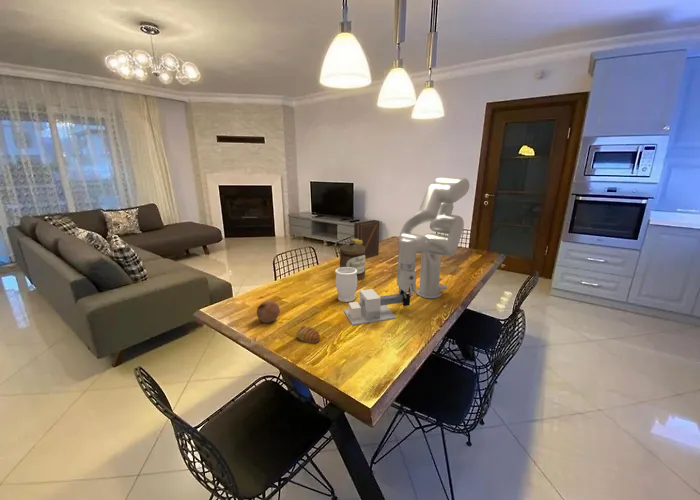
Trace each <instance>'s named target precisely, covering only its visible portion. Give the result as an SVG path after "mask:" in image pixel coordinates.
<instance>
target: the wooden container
mask: <svg viewBox="0 0 700 500" xmlns="http://www.w3.org/2000/svg"><path fill="white" fill-rule="evenodd" d="M342 267H352V268H355V269H357V274H356V275H357V282H358V281H361V280H364V279H365V277H366V259H365V246H363V245H359V244H355V241H353V240H352V239H351V240H350V241H349V243H347V244H346V243H345V244H342V245H341V246H340V247H339V268H342Z"/></svg>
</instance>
